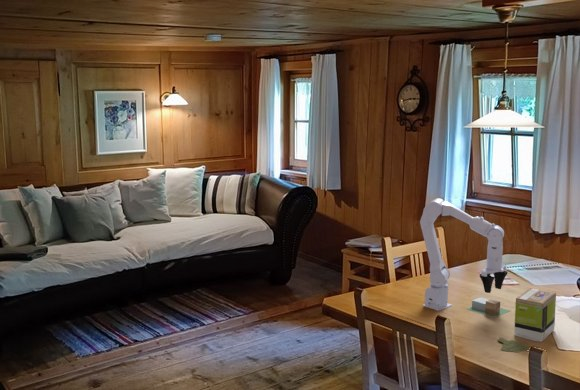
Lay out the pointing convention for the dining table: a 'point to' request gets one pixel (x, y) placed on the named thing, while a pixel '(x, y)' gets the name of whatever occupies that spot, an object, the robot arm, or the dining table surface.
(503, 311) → the felt mat
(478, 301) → the base block
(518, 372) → the dining table surface
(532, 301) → the tea box
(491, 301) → the walnut cube
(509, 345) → the green leaf
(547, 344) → the dining table surface
